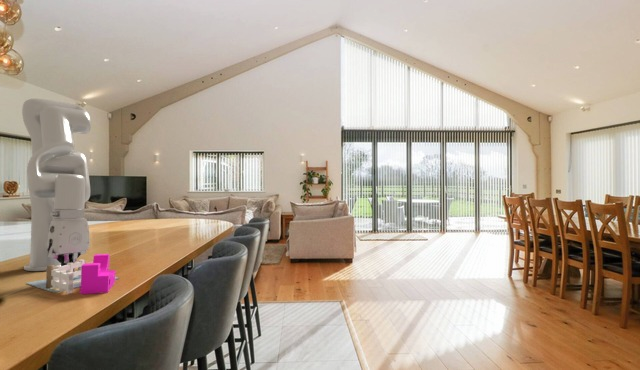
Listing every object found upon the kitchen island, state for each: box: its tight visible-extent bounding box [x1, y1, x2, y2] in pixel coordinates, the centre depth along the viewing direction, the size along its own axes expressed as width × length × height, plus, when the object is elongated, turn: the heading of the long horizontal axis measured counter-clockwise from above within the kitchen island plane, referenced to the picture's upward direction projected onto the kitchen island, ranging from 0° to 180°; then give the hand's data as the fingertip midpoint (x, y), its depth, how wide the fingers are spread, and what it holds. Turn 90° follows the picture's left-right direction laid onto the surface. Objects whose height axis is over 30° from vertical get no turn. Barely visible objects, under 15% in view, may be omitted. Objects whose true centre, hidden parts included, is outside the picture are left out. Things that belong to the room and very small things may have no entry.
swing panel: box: [55, 259, 86, 277], centre depth 104 cm, size 10×1×5 cm, turn 177°
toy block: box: [79, 253, 116, 295], centre depth 100 cm, size 15×6×8 cm, turn 21°
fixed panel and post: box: [45, 265, 74, 294], centre depth 95 cm, size 11×2×6 cm, turn 61°
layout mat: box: [25, 276, 120, 294], centre depth 105 cm, size 16×18×1 cm
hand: (67, 275), depth 106 cm, fingers closed
